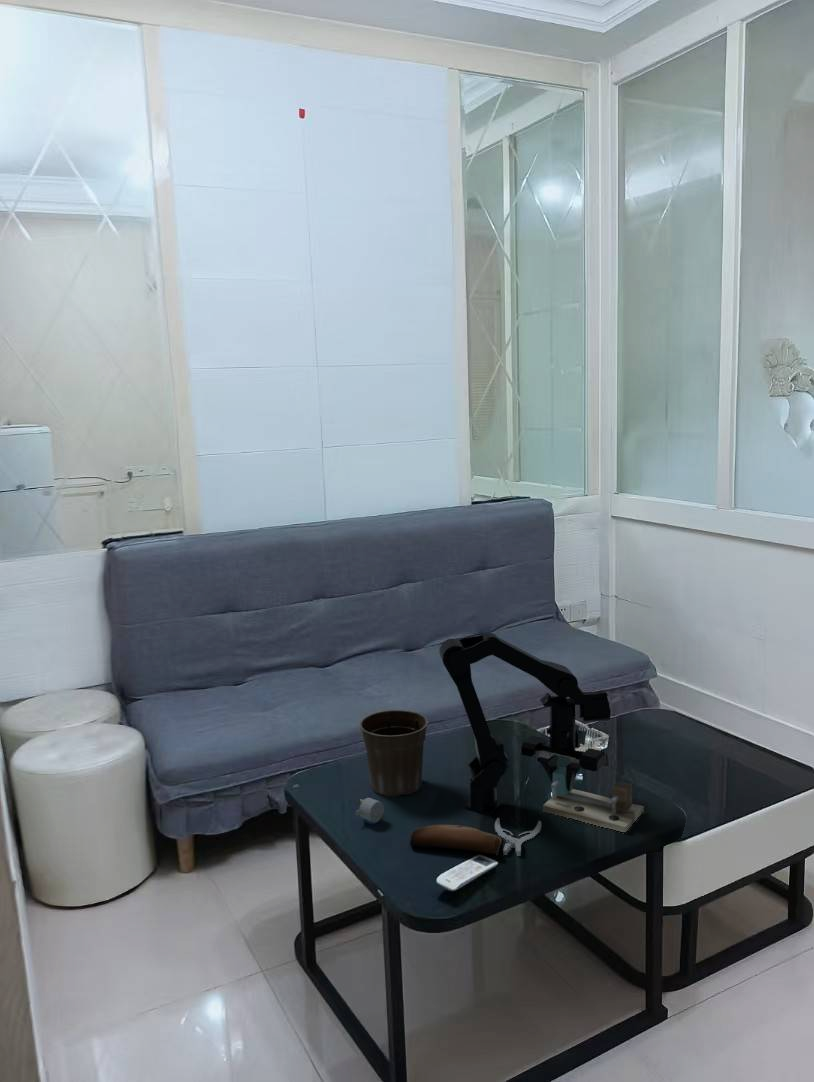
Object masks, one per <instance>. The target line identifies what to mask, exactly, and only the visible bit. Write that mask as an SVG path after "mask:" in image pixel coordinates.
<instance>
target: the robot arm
mask: <svg viewBox="0 0 814 1082" xmlns="http://www.w3.org/2000/svg"><path fill="white" fill-rule="evenodd" d="M438 651H439V652H438V653H439V656H440V658H441V661H442V664H443V666H444V667H445V669H446V671H447V673H448V675H449V676H450V677H451V680H452V681H453V682H454V684H455V685H456V688H457V692H458V694H459V697H460V699H461V702H462V706H463V708H464V710H465V711H464V712H465V713H466V716H467V720H468V722H469V725H470V728H471V730H472V734H473V737H474V746H475V747H474V748H475V754H476V756H475V757H474V758H472V760H471V761H470V762H469V763H468V764H467V767H468V770H469V774H470V776H471V778H470V783H469V788H470V789H469V791H470V793H469V794H470V800H469V801H468V802H467V803H466V804H464V808H465V809H467V810H472V811H475V812H479V813H482V814H485V815H491V814H492V813H493V812H494V811H495V810H497V809H498V808H500V806H502V805H503V804H504V803H503V800H500V799H497V797H498V795H497V794H498V792H497V791H498V790H497V789H498V787H497V786H498V785H499V782H500V779H501V777H502V776H503V775H504V774H505V773H506V771H507V769H508V764H507V762H509V757H508V756H507V753H506V751H505V748H504V744H503V742H502V739H501V738H500V736H499V735H500V734H496V735H494V736H493V734H491V731H490V728H489V725H488V723H487V719H486V717H485V714H484V711H483V708H482V706H481V703H480V699H479V697H478V694H477V691H476V689H475V686H474V683H473V681H472V680H473V678H472V669H471V665H472V664H475V663H478V662H480V661H481V660H483V659H486V658H487V657H490V656H494V657H496V658H497V659H499V660H501V661H503V662H505V663H507V664H509V665H510V666H512V667H514V668H516V669H519V670H521V671H523V672H524V673H526V674H527V675H529V676H532V677H533V678H535V679H537V680H538V682H540V683H541V684H543V685H544V686H545V688H547V689H549V690H550V691H551V692H552V693H554V694H555V695H552V694H550V692H547V693H546V694H545V695H544V696H543V697H541V698H540V699H539V701H540V703H541V705H542V706H543V707H545V708H547V707H548V708H549V710H548V711H549V727H548V728H546V733H547V734H548V735H549V744H548V743H547V739H546V738H544V737H540V736H535V735H531V736H529V737H528V738H526V739H525V740H523V741H522V742H521V743H520V747H519V749H520V750H519V752H520V755H522V756H525V757H526V756H527V757H531V758H532V757H533V756H534V755H536V753H538V757H537V758H536V761H537V763H540V764H541V766H542V767H543V769H544V770H545V772H546V774H547V776H548V778H549V780H550V782H551V784H552V783H553V772H554V771H555V770H556V769H557V768H558V760H559V757H562V758H565V759H566V758H567V759H569V760H570V762H569V763H568V764H567V765H566V766H565V767H566V779H567V789H568V791H570V790H571V789H573V786H574V783H575V781H576V777H577V775H578V773H579V772H580V770H582V769H583V770H587V771H589V772H590V771H591V772H598V771H599V770H600V769H601V768H602V767H603V766H605V765H606V764H607V755H606V753H605V752H604V750H602V749H601V750H599V749H596V748H590V747H589V748H588V749H586V750H585V751H582V750H576V749H579V748H580V747H581V745H583V746H584V745H585V743H586V739H587V737H586V736H587V731H586V730H582V729H579V726H578V724H576V716H577V718H578V719H581V721H582V722H583V723H594V722H595V723H597V722H598V723H599V722H610V720H611V717H612V716H611V715H612V709H611V708H610V701H609V698H608V693H607V692H606V691H605V690H604V689H600V690H596V691H583V690H582V689H581V688H580V686H579V681H578V678H577V677H576V676H575V675H574V674H573V672H572V671H571V669H569V668H568V667H566V666H565V665H562V664H559V663H556V662H553V661H548V660H547V661H546V660H543V659H540V658H538V657H536V656H534V655H532V654H530V653H529V652H527V651H525V650H523V649H521V648H520V647H517V646H516V645H513V644H512V643H510V642H509V641H506V640H505V639H502V638H501V637H498V636H497V635H496V634H495V633H493V632H487V633H485V634H484V633H483V634H481V635H473V636H467V637H462V638H447V639H446V640H445V641H443V642H442V643H441V644H440V647H439V650H438Z"/></svg>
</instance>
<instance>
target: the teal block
mask: <svg viewBox="0 0 814 1082" xmlns="http://www.w3.org/2000/svg"><path fill="white" fill-rule="evenodd" d="M550 787H551V798H552V800H556V794H557V795H561V796H566V795H567V794H568V793H569V792H570V791H572V789H573V788H572V789H571V790H570V791H568V789H567V779H566V766H562V765H561V766H559V767H557V769H556V770H555V771H554V772H553V783H552V782H551V785H550Z"/></svg>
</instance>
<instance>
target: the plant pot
mask: <svg viewBox="0 0 814 1082" xmlns="http://www.w3.org/2000/svg"><path fill="white" fill-rule="evenodd" d="M428 725H429V720H428V718H427V717H426V716H425V715H423V714H422V713H419V712H415V711H412V710H411V711H410V710H405V709H404V710H403V709H398V710H397V709H396V710H395V709H391V710H390V709H389V710H382V711H377V712H374V713H371V714H368V715H367V716H365V717H364V718H362V719H361V720H360V722H359V729H360V730H361V732H362V739H363V742H364V744H365V750H366V758H367V759H366V760H367V764H368V774H369V781H370V786H371V789H372V790H373V792H375V793H377V794H378V795H381V796H384V797H385V796H386V797H392V798H393V797H399V796H400V795H404V796H409V795H411V794H414V793H415V792H417V791H419V789H421V787H422V781H423V779H422V778H423V763H424V762H423V759H424V746H425V740H426V733H427V728H428Z"/></svg>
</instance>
